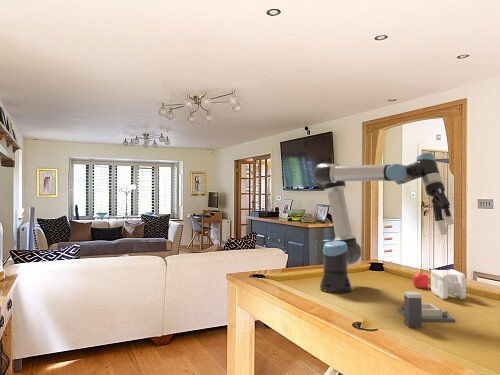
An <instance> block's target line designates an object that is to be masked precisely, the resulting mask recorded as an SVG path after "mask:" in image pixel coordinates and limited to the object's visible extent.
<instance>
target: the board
mask: <svg viewBox="0 0 500 375" xmlns="http://www.w3.org/2000/svg"><path fill="white" fill-rule="evenodd" d="M421 304H422V322H435V323H437V322H440V323H441V322H443V323H444V322H446V323H450V322H451V323H453V322H456V318H454V317H453V316H451V315H449V314H448V311H447V310H442V309H441V308H439V307H436V306H435V305H434V304H432V303H421ZM397 311H398V312H400V313H401V315H402V316H404V306H400V307H397Z"/></svg>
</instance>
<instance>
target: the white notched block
mask: <svg viewBox="0 0 500 375" xmlns="http://www.w3.org/2000/svg"><path fill="white" fill-rule="evenodd" d="M466 280H467V279H466V275H465V274H464V273H462V272H461V271H458V270H455V269H452V268H451V269H449V270H448V273H443V272H441V271H440V270H437V269H431V270H430V288H431V289H430V290H431V293H433V294H434V295H435V296H437V297H439V298H440V299H441V300H446V299H448V298H449V297H450V295H451V296H452V295H453V296H454V297H457V298H458V299H459V300H464V299H466V297H467V290H466V289H467V285H466V282H467V281H466Z"/></svg>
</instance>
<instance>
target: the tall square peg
mask: <svg viewBox="0 0 500 375" xmlns="http://www.w3.org/2000/svg"><path fill="white" fill-rule="evenodd" d="M403 298H404V299H403V302H404V303H403V304H404V315H403V318H404V320H403V321H404V325H405V326H406V327H408V328H409V329H422V328H423V327H422V326H423V321H422V304H423V303H422V294H421V293H420V292H418V291H406V290H405V291H403Z"/></svg>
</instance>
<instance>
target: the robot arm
mask: <svg viewBox="0 0 500 375" xmlns="http://www.w3.org/2000/svg"><path fill="white" fill-rule="evenodd" d="M437 163H438V162H437V161H436V158H435V156H434V154H433V153H431V152H423V153H420V154H419V155H417V156H416V161H415V162H412V163H410V164H407V165H403V164H400V163H392V164H364V165H363V164H362V165H361V164H358V165H351V164H350V165H339V164H337V163H330V162H329V163H328V162H321V163H319V164H317V165H316V166H315V167H314V170H313V172H312V174H313V178H314V180H315V182H316V183H317V184H319V185H322V187H323V191H325V193H327V199H328V203H329V208H330V214H331V219H332V226H333V229H334V236H335V237H334V239H333V241H327V242H325V243H324V244H323V249H322V257H323V259H322V265H323V268H322V269H323V271H322V272H323V274H322V276H321V280H320V283H319V289H320V288H321V289H322V290H326V291H330V292H329V293H331V292H337V293H336V294H343V292H346V293H350V292H352V284H351V281H350V278H349V276H348V266H349V265H353V264H355V263H357V262H358V261H359V260H360V259H361V257H362V253H363V252H362V248H361V245H360V244H359V243H358V242H357V238H356V236H355V235H354V234H353V233H352V232H353V231H352V227H351V223H350V217H349V216H350V215H349V212H348V206H347V203H346V202H347V201H346V197H345V191H344V190H345V189H346V187H347V186H346V182H395V183H396V185H403V184H407V183H409V182H412V181H414V180H418V179H420V178H421V180H422V182H423V186H424V187H425V188H424V189H425V192H426V195H427V196H429V197H430V196H431V198H432V199H431V204H432V210H433V214H434V220H435V222H436V223H437V227H438V229H439V230H438V231H439V232H440V235H441V236H443V235H448V234H449V233H448V230H447V227H446V226H451V225H454V224H455V221H454V219H453V216H452V212H451V210H450V206H451V203H450V201H449V199H448V197H447V195H446V194H445V191H446V189H445V185H444V183H443V181H442V179H443V176H441V174H440V171H439V167H438V164H437ZM321 289H320V290H321ZM322 290H321V291H322ZM349 291H350V292H349Z"/></svg>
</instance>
